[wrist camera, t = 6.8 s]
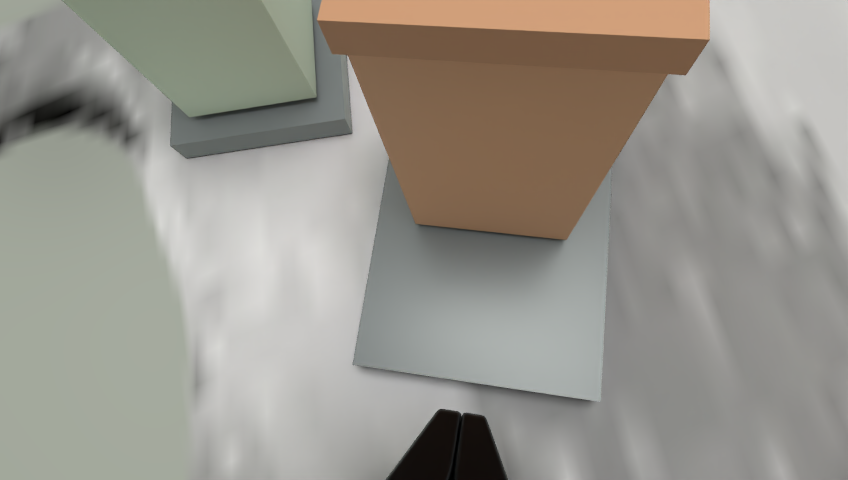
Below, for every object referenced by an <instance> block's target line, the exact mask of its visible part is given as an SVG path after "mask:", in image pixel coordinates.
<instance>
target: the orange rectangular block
mask: <svg viewBox="0 0 848 480" xmlns="http://www.w3.org/2000/svg"><path fill="white" fill-rule="evenodd" d="M317 21H318V24H319V26H320V28H321V30H322V33H323V35H324V37H325V39H326V41H327V44H328V46H329V48H330V50H331V53H332V54H338V55H348V57H349V59H350V62H351V64H352V67H353V69H354V72H355V74H356V77H357V79H358V82H359V84H360V87H361V89H362V92H363V94H364V97H365V99H366V102H367V104H368V107H369V109H370V112H371V114H372V116H373V119H374V121H375V124H376V126H377V129H378V131H379V134H380V136H381V139H382V141H383V144H384V146H385V149H386V151H387V154H388V156H389V159H390V161H391V164H392V166H393V169H394V171H395V174H396V176H397V179H398V181H399V184H400V186H401V189H402V191H403V194H404V196H405V199H406V201H407V204H408V206H409V209H410V211H411V214H412V216H413V219H414V221H415V224H422V225H431V226H440V227H450V228H459V229H468V230H478V231H487V232H496V233H506V234H515V235H525V236H534V237H543V238H553V239H562V240H567V239H568V237H569V235H570V234H571V232H572V230H573V229H574V227H575V225H576V224H577V222H578V221H579V219H580V217H581V216H582V214H583V212H584V211H585V209H586V207H587V206H588V204H589V203H590V201H591V199H592V198H593V196H594V194H595V193H596V191H597V189H598V188H599V186H600V185H601V183H602V181H603V180H604V178H605V176H606V175H607V173H608V171H609V170H610V168H611V167H612V165H613V163H614V162H615V160H616V158H617V157H618V155H619V153H620V152H621V150H622V149H623V147H624V145H625V144H626V142H627V140H628V139H629V137H630V135H631V134H632V132H633V131H634V129H635V127H636V126H637V124H638V122H639V121H640V119H641V117H642V116H643V114H644V113H645V111H646V109H647V108H648V106H649V104H650V103H651V101H652V99H653V98H654V96H655V95H656V93H657V91H658V90H659V88H660V86H661V85H662V83H663V81H664V80H665V78H666V77H667V75H668V74H676V75H686V74H687V73H688V71H689V70H690V68H691V67H692V65H693V64H694V62H695V61H696V59H697V58H698V56H699V55H700V53H701V52H702V50H703V49H704V47H705V46H706V44H707V43H708V41H709V40H710V8H709V0H322V1H321V5H320V9H319V14H318V18H317Z"/></svg>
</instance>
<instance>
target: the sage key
mask: <svg viewBox="0 0 848 480" xmlns="http://www.w3.org/2000/svg"><path fill="white" fill-rule="evenodd" d="M62 1H63V2H64V3H65V4H66V5H67V6H68V7H69V8H71V9H72V10H73V11H74V12H75V13H76V14H77V15H78V16H79V17H80V18H81V19H83V20H84V21H85V22H86V23H87V24H88V25H89V26H90V27H91V28H92V29H93V30H95V31H96V32H97V33H98V34H99V35H100V36H101V37H102V38H103V39H104V40H105V41H107V42H108V43H109V44H110V45H111V46H112V47H113V48H114V49H115V50H116V51H117V52H119V53H120V54H121V55H122V56H123V57H124V58H125V59H126V60H127V61H128V62H129V63H131V64H132V65H133V66H134V67H135V68H136V69H137V70H138V71H139V72H140V73H141V74H143V75H144V76H145V77H146V78H147V79H148V80H149V81H150V82H151V83H152V84H154V85H155V86H156V87H157V88H158V89H159V90H160V91H161V92H162V93H163V94H164V95H166V96H167V97H168V98H169V99H170V100H171V101H172V102H173V103H174V104H175V105H176V106H178V107H179V108H180V109H181V110H182V111H183V112H184V113H185V114H186V115H187V116H188V117H195V116H201V115H208V114H214V113H220V112H226V111H233V110H239V109H245V108H252V107H258V106H264V105H271V104H277V103H283V102H290V101H296V100H302V99H309V98H315V97H317V94H316V75H315V56H314V38H313V19H312V1H311V0H62Z"/></svg>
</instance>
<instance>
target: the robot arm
mask: <svg viewBox="0 0 848 480" xmlns="http://www.w3.org/2000/svg"><path fill="white" fill-rule="evenodd" d="M386 480H508V478H507V475H506V472H505V470H504V467H503V464H502V461H501V458H500V456H499V453H498V450H497V447H496V444H495V442H494V439H493V436H492V433H491V430H490V428H489V425H488V422H487V420H486V418H485V417H484V416H482V415H477V414H471V413H464V414H463V415H462V417H461V413H460V412H458V411H452V410H445V409H440V410H438V411H437V412H436V413H435V415H434V416H433V417H432V419H431V420H430V421H429V423H428V424H427V425H426V427H425V428H424V429H423V431H422V432H421V433H420V435H419V436H418V437H417V439H416V440H415V441H414V443H413V444H412V445H411V447H410V448H409V449H408V451H407V452H406V453H405V455H404V456H403V457H402V459H401V460H400V461H399V463H398V464H397V465H396V467H395V468H394V469H393V471H392V472H391V473H390V475H389V476H388V477H387V479H386Z"/></svg>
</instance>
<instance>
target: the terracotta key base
mask: <svg viewBox="0 0 848 480" xmlns="http://www.w3.org/2000/svg"><path fill="white" fill-rule="evenodd" d="M611 184H612V167H611V168H610V170H609V171H608V173H607V175H606V176H605V178H604V180H603V181H602V183H601V185H600V186H599V188H598V189H597V191H596V193H595V194H594V196H593V198H592V199H591V201H590V203H589V204H588V206H587V207H586V209H585V211H584V212H583V214H582V216H581V217H580V219H579V221H578V222H577V224H576V225H575V227H574V229H573V230H572V232H571V234H570V235H569V237H568V239H567V240H562V239H553V238H543V237H534V236H525V235H515V234H506V233H496V232H487V231H478V230H468V229H459V228H450V227H440V226H431V225H422V224H415V221H414V219H413V216H412V214H411V211H410V209H409V206H408V204H407V201H406V199H405V196H404V194H403V191H402V189H401V186H400V184H399V181H398V179H397V176H396V174H395V171H394V169H393V166H392V164H391V161H390V159H389V161H388V167H387V173H386V178H385V184H384V190H383V195H382V201H381V207H380V212H379V218H378V224H377V229H376V235H375V241H374V246H373V252H372V258H371V263H370V269H369V275H368V280H367V286H366V292H365V297H364V303H363V309H362V314H361V320H360V326H359V331H358V337H357V343H356V348H355V354H354V360H353V365H358V366H365V367H372V368H378V369H385V370H392V371H398V372H405V373H412V374H418V375H425V376H432V377H438V378H445V379H452V380H458V381H465V382H472V383H478V384H485V385H492V386H498V387H505V388H512V389H518V390H525V391H532V392H538V393H545V394H552V395H558V396H565V397H572V398H578V399H585V400H592V401H598V402H601V385H602V365H603V345H604V325H605V305H606V284H607V264H608V244H609V224H610V204H611Z"/></svg>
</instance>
